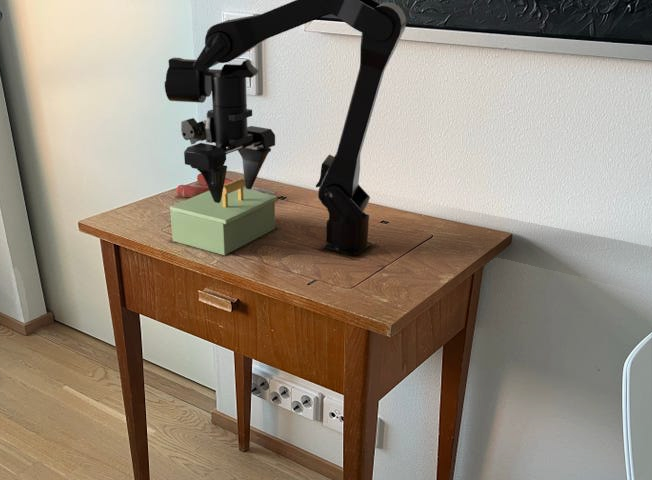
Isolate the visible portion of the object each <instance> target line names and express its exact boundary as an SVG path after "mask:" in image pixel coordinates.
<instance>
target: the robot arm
mask: <svg viewBox="0 0 652 480" xmlns="http://www.w3.org/2000/svg"><path fill="white" fill-rule="evenodd" d="M328 15H333V16H335V17H337V18H338V19H340V20H341V21H342V22H344V23H345V24H347V25H348V26H349V27H351V28H352V29H354V30H356V31H358V32H360V33H361V36H360V37H361V39H360V48H359V49H360V50H359V57H360V58H359V69H358V72H357V76H356V79H355V80H356V81H355V84H354V88H353V91H352V95H351V99H350V102H349V106H348V110H347V114H346V117H345V119H344V124H343V128H342V132H341V135H340V140H339V142H338V147H337V150H336V153H335V155H332V154H328V155H327V156H326V158H325V159H324V160H323V162H322V163H321V167H320V176H319V179H318V181H317V182H316V184H315V188H318V193H317V196H318V199H319V201H320V203H321V204H322V205H323V206H324V207H325V208H326V209H327V212H328V220H326V231H325V233H326V234H325V243H326V244H325V245H323V250H325V251H329V252H332V253H337V254H342V255H345V256H349V257H357V256H359V255H360V254H361V253H363V252H365V251H366V250H368V249H369V248H370V247H372V242H371V241H368V239H369V225H370V214H367V213H366V212H365V210H366V208H367V206H368V204H369V201H370V199H371V197H370V195H369V194H368V193H367V192H366V191H365V190H364V189H363V187H362V186H361V185H360V184H359V182H360V173H361V155H362V150H363V146H364V142H365V140H366V137H367V132H368V128H369V125H370V121H371V118H372V116H373V112H374V109H375V105H376V101H377V98H378V95H379V94H378V93H379V91H380V87H381V84H382V80H383V77H384V74H385V71H386V69H387V67H388V64H389V62H390V60H391V58H392V56H393V55H394V53H395V51H396V49H397V47H398V44H399V43H400V40H401V38H402V36H403V34H404V32H405V29H406V25H407V17H406V14H405V12H404V10H403V8H401V6H399V5H398V4H396V3H394V2H387V1H386V2H382V3H380V2H379V1H376V0H292V1H290V2H288V3H285V4H282V5H280V6H278V7H275V8H273V9H271V10H268V11H266V12H264V13H261V14H255V15H248V16H243V17H236V18H233V19H227V20H225V21H222V22H218V23H216V24H213V25H212V26H210V27H209V28H208V29H207V31H206V34H205V37H204V47H203V48H202V50H201V52H199V55H198V57H197V58H196V59H188V58H182V57H171V58H169V59H168V60H167V61H168V68H167V70H166V74H165V81H164V93H165V95H166V98H167V99H168V101H170V102H179V103H181V102H182V103H199V104H201V103H202V104H204V102H205V101H206V99H207V98H209V97H211V101H212V109H209V110H207V112H206V115H205V116H206V119H205V120H201V121H197V120H196V118H194V117H191V118H189V119H185V120H182V121H181V122H180V123H181V124H180V125H181V127H180V131H181V137H182V138H183V140H185V141H189V142H190V146H188V147H186V149H185V150H184V151H183V157H184V158H183V159H184V160H183V161H184V165H186V166H190V168H191V169H195V170H197V171H198V172H199V173H201V174H202V175H203V177H204V179H205V181H206V183H207V185H206V187H207V186H208V188H209V190H210V193H211V195H212V198H213V200H214V202H216V203H220V201H221V198H222V193H223V188H224V182H225V178H226V177H227V171H228V165H225V163H226V161H227V155H228V154H231V153H234V152H238V153H239V155H240V156H241V159H242V169H243V170H242V171H243V179H244V181H245V186H246V188H247V189H251V188H252V187H254V185H255V183H256V180H257V177H258V175H259V173H260V171H261V168H262V167H263V164H264V163H265V162H266V161H265V160H266V159H267V157H268V155H269V153H270V152H271V151H272V147H274V146H276V133H275V132H274V131H273V130H272V129H271V128H266V127H260V126H254V125H250V126H248V118H250V117H252V116H253V109H251V108H250V109H249V108H248V104H247V103H248V101H247V100H248V99H247V98H248V97H247V78H253V77H255V76H257V75H258V74H259V69H258V68H256V67H255V66H254V65H253V64H252V63H251V62H250V59H246V60H243V61H242V63H241V64H235V63H234V64H233V63H230V62H232V61H234V60H235V59H237V58H240V57H241V56H243V55H245V54H247V53H248V52H250V51H251V50H253V49H254V48H256V47H257V46H258V45H260V44H262V43H263V42H265V41H266V40H268V39H270V38H273V37H275V36H277V35H278V36H279V35H280V34H282V33H286V32H288V31H290V30H292V29H295V28H298V27H300V26H303V25H305V24H308V23H310V22H313V21H315V20H318V19H321V18H324V17H326V16H328ZM229 63H230V64H229ZM218 64H224V65H223V66H222V67H221V69H215V68H214V69H213V68H212V67H215V66H216V65H218ZM203 141H205V143H204V142H203ZM197 142H199V143H197ZM212 143H213V144H212Z"/></svg>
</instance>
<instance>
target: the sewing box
mask: <svg viewBox="0 0 652 480" xmlns="http://www.w3.org/2000/svg"><path fill="white" fill-rule="evenodd" d="M169 214H170V224H171V225H170V226H171V236H172V242H174V243H179V244H181V245H186V246H188V247H193V248H197V249H200V250H205V251H208V252H210V253H211V252H212V253H215V254H219V255H223V256H226V255H228V254H229V253H232V252H234V251H236V250H238V249H239V248H241V247H243V246H245V245H247V244H249V243H251V242H253V241H254V240H257V239H258V238H261V237H263V236H264V235H266V234H268V233H270V232H272V231H274V230H275V229H276V217H275V216H276V202H275V201H273V202H271V203H269V204H267V205H265V206H263V207H261V208H259V209H257V210H255V211H253V212H250V213H248V214H246V215H244V216H242V217H240V218H238V219H236V220H234V221H232V222H229V223H227V224H223V223H219V222H215V221H211V220H207V219H203V218H199V217H195V216H191V215H187V214H183V213H179V212H175V211H171V210H170V211H169Z"/></svg>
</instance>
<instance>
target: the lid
mask: <svg viewBox="0 0 652 480" xmlns="http://www.w3.org/2000/svg"><path fill="white" fill-rule="evenodd" d="M232 181H233V182H231V183H228V184H226V185H224V188H223V193H222V198H221V201H220V203H216V202H214V200H213V198H212V195H211V193H210V190H209V191H207V192H204V193H202V194H200V195H197V196H195V197H192V198H188V199H187V198H186V199H185V200H183V201H181V202H177V203H175V204H173V205H170V206H169V210H170V211H175V212H179V213H183V214H187V215H191V216H195V217H199V218H203V219H207V220H211V221H215V222H219V223H223V224H227V223H229V222H232V221H234V220H236V219H238V218H240V217H242V216H244V215H246V214H248V213H250V212H253V211H255V210H257V209H259V208H261V207H263V206H265V205H267V204H269V203H271V202H273V201H277V200H278V196H277V195H275V194H271V195H270V194H265V193H260V192H256V191H251V190H246V189H243V187H244V186H245V181H244V178H238V179H235V180H232Z"/></svg>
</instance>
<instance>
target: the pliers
mask: <svg viewBox="0 0 652 480" xmlns="http://www.w3.org/2000/svg"><path fill="white" fill-rule="evenodd" d="M196 180H197V182H198V184H199V185H202V186H194V185H193V186H191V185H188V184H187V185H186V184H179V185H178V186H177V187H176V194H177V196H178V197H181V198H186V199H187V198H188V199H190V198H192V197H195V196H197V195H200V194H202V193H204V192H207V191H209V188H208V186H207V183H206V181H205V179H204V177H203V175H202V174H201V172H199V173H198V174H197V175H196ZM233 181H234V180H232V179H229V178H227V177H225V182H224V185H226V184H228V183H231V182H233ZM243 189H246V190H251V191H256V192H260V193H265V194H270V195H277V192H276V191H273V190H270V189H265V188H261V187H256V186H253V187H252V188H251V189H247V188H246V186H244V187H243Z"/></svg>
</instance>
